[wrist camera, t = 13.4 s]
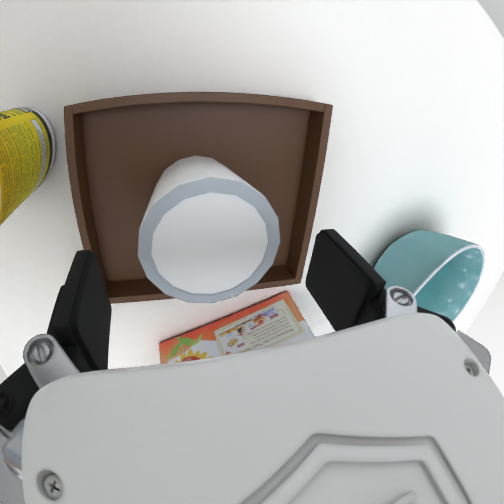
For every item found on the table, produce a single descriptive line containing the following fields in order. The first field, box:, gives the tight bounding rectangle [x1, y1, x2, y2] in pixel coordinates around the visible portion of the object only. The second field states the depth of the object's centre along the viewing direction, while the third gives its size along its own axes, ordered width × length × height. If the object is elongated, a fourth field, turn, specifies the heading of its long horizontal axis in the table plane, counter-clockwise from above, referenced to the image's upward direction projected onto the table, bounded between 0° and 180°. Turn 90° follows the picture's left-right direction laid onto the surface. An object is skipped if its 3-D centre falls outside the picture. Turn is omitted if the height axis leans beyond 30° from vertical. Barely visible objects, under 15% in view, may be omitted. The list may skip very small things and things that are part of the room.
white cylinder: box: [138, 156, 280, 303], centre depth 15 cm, size 7×7×7 cm
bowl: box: [374, 230, 484, 322], centre depth 27 cm, size 16×16×8 cm
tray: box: [64, 92, 333, 304], centre depth 18 cm, size 16×14×2 cm
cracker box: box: [159, 292, 315, 364], centre depth 19 cm, size 14×6×21 cm, turn 106°
